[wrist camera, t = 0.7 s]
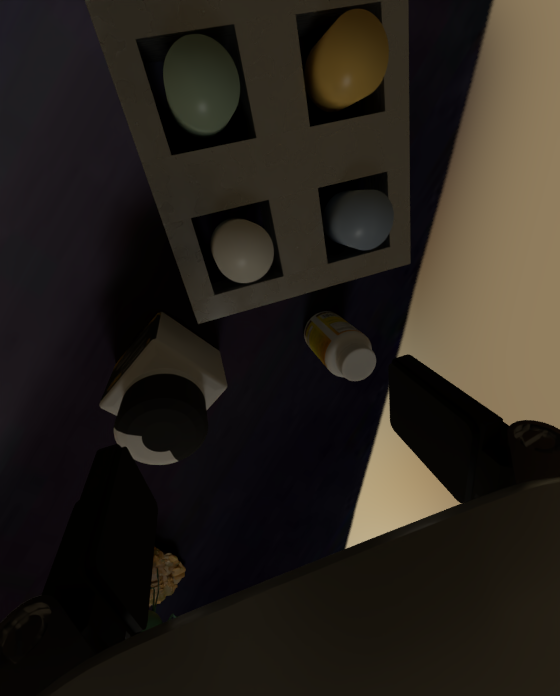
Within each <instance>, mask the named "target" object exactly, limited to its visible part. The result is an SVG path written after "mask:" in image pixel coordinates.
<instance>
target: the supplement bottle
mask: <svg viewBox="0 0 560 696" xmlns="http://www.w3.org/2000/svg"><path fill="white" fill-rule="evenodd" d="M304 338H305V341H306V343H307V345H308V346H309V347H310V348H311V349H312V351H313V352H314V353H315V354H316V355H317V357H318V358H319V359H320V360H321V361H322V363H323V364H324V365H325V366H326V367H327V368H328V370H329V371H330V372H331V373H333V374H334V375H336V376H339V377H345V378H346V379H348V380H350V381H360V380H363V379H364V378H366V377H367V376H369V375H370V374H371V373H372V371H373V370H374V368H375V365H376V357H375V354H374V353H373V351H372V347H371V343H370V341H369V339H368V338H367V337H366V336H365V335H364V334H363V333H361V332H360V331H359V330H357V329H356V328H355V327H353V326H352V325H351V324H349V323H348V322H347V321H345V320H344V319H343V318H341V317H340V316H339V315H337V314H335V313H333V312H330V311H324V312H320V313H317V314H316V315H314V316H313V317H312V318H311V319H310V320H309V321H308V322H307V324H306V327H305V330H304Z"/></svg>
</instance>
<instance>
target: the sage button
mask: <svg viewBox="0 0 560 696" xmlns="http://www.w3.org/2000/svg"><path fill="white" fill-rule="evenodd" d="M163 79H164V86H165V91H166V97H167V102H168V106H169V109H170V112H171V114H172V116H173V118H174V120H175V121H176V122H177V124H178V125H179V126H180V127H181V128H182V129H183V130H184V131H185V132H187V133H188V134H190V135H192V136H195V137H198V138H210V137H213V136H216V135H217V134H219V133H220V132H221V131H222V130H223V129H224V128H225V127H226V125H227V123H228V122H229V120H230V118H231V117H232V115H233V113H234V112H235V110H236V107H237V105H238V101H239V96H240V81H239V76H238V72H237V69H236V66H235V64H234V62H233V60H232V58H231V56H230V55H229V53H228V52H227V51H226V49H225V48H224V47H223V46H222V45H221V44H219V43H218V42H217V41H215V40H214V39H212V38H210V37H208V36H205V35H201V34H190V35H186V36H183V37H181V38H180V39H178V40H177V41H176V42H175V43H174V44H173V45H172V46H171V48H170V49H169V51H168V53H167V55H166V58H165V62H164V68H163Z"/></svg>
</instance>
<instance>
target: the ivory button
mask: <svg viewBox="0 0 560 696" xmlns="http://www.w3.org/2000/svg"><path fill="white" fill-rule="evenodd" d="M210 247H211V252H212V255H213V257H214V260H215V262H216V264H217V266H218V268H219V269H220V271H221V272H222V273H223V274H224V275H225V276H226V277H227V278H229V279H231V280H233V281H235V282H239V283H249V282H253V281H256V280H258V279H260V278H261V277H262V276H264V275H265V274H266V273H267V271H268V270H269V268H270V266H271V264H272V262H273V257H274V248H273V243H272V240H271V238H270V236H269V235H268V233H267V232H266V231H265V230H264V229H263V228H262V227H261V226H259V225H257V224H255V223H253V222H250V221H248V220H245V219H242V218H230V219H227V220H224V221H223V222H221V223H220V224H219V225H218V226H217V227H216V228H215V230H214V231H213V234H212V236H211V241H210Z"/></svg>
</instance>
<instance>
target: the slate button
mask: <svg viewBox="0 0 560 696" xmlns="http://www.w3.org/2000/svg"><path fill="white" fill-rule="evenodd" d="M393 220H394V211H393V206H392V204H391V202H390V200H389V198H388V197H387V196H386V195H385V194H384V193H382V192H380V191H378V190H346V191H342V192H339V193H337V194H336V195H334V196H333V197H332V198H331V199H330V200H329V202H328V203H327V205H326V207H325V209H324V213H323V227H324V230H325V232H326V234H327V236H328V237H329V238H330V239H331V240H332V241H334V242H336V243H339V244H342V245H345V246H349V247H352V248H355V249H358V250H371V249H373V248H375V247H377V246H379V245H380V244H381V243H382V242H383V241H384V240H385V239H386V238H387V236H388V235H389V233H390V231H391V228H392V225H393Z"/></svg>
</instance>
